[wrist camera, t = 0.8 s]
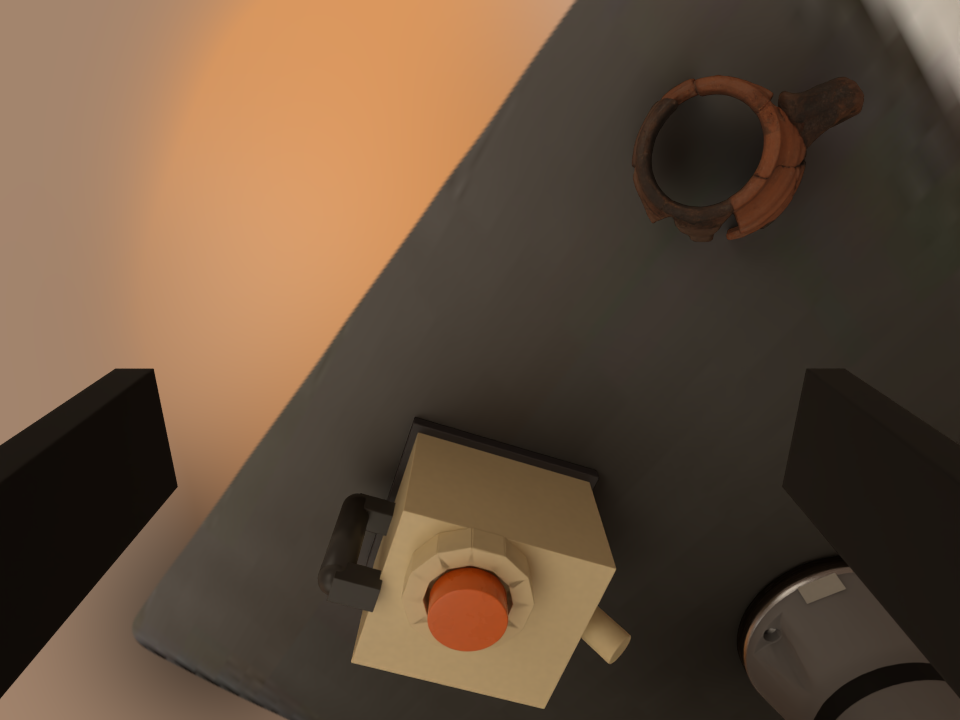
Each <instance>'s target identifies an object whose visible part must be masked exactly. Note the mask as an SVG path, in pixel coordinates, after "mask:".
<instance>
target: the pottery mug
mask: <svg viewBox="0 0 960 720" xmlns="http://www.w3.org/2000/svg"><path fill="white" fill-rule="evenodd" d="M713 94H721V95H728V96H732V97H735V98H737V99H739V100H741V101H743V102H744V103H746V104H747V105H748V106H749V107H750V108H751V109H752V110H753V111H754V112H755V113H756V114H757V116H758V118H759V120H760V123H761V126H762V130H763V135H764V145H763V152H762V156H761V160H760V163H759V165H758V167H757V169H756V171H755V173H754V175H753V176H752V177H751V178H750V180H749V181H748V182H747V183H746V184H745V186H744V187H743V188H742V189H741V190H739V191H738V192H737V193H736V194H734V195H732V196H731V197H729V198H728V199H727V200H725V201H723V202H720V203H718V204H714V205H710V206H705V207H694V206H687V205H683V204H680V203H677V202H675V201H672V200H671V199H670V198H669V197H667V196H666V195H665V194H664V193H663V191H662V190H661V189H660V188H659V186H658V184H657V182H656V180H655V177H654V174H653V171H652V151H653V146H654V142H655V139H656V137H657V134H658V132H659V130H660V129H661V127H662V126H663V124H664V123H665V121H666V120H667V119H668V117H669V116H670V115H671V114H672V113H673V112H674V111H675V110H676V108H677V107H678V105H679V104H681V103H683V102H684V101H686V100H688V99H690V98H692V97H694V96H697V95H700V96H706V95H713ZM772 97H773V93H772V92H771V91H769V90H768V89H765V88H763V87H762V86H759V85H756V84H753V83H751V82H748V81H746V80H742V79H739V78H735V77H730V76H721V75H716V76H710V77H704V78H700V79H697V80H695V79H689V80H687V81H684V82H683V83H681V84H679V85H677V86H676V87H674V88H673V89H671V90H670V91H669V92H668V93H666V94H665V95H664V96H663V97H662V99H661V100H660V101H658V102H656V103H655V104H654V105H653V107H652V108H651V110H650V111H649V113H648V115H647V117H646V118H645V120H644V122H643V124H642V126H641V128H640V131H639V133H638V136H637V138H636V142H635V145H634V151H633V157H632V166H633V167H634V168H635V171H634V175H633V180H634V184H635V187H636V190H637V192H638V194H639V197H640V198H641V200H642V203H643V205H644V208H645V210H646V212H647V215H648V217H649V219H650V220H651V222H652V223H655V222H656V221H658V220H661V219H663V218H666V217H673V218H674V221H675V225H676V227H678V229H679V230H680V231H681V232H682V233H684V234H687V235H689V237H690V238H691V240H693V241H696V242H709V241H711V240H712V239H713V235H714V233H716V232H717V231H718V230H719V229H720V227H721V226H722V224H723V223H724V222H725V221H726V220H727V219H728V218H729V217H730V216H731V215H732V214H734V216H735V218H736V221H737V223H738V226H737V227H734V228H731V229H729V230H728V231H727V234H726V237H727V239H728V240H732V239H737V238H741V237H744V236H746V235H748V234H750V233H753V232H755V231H757V230H758V229H764V228H765V227H767V226H768V225H769V224H771V223H772V222H773V221H774V220H775V219H776V218H777V217H778V216H779V215H780V214H781V213H782V212H783V211H784V210H785V208H786V207H787V206H788V204H789V203H790V202H791V200H792V198H793V195H794V194H795V192H796V190H797V188H798V186H799V184H800V182H801V179H802V176H803V173H804V170H805V165H806V162H805V157H806V149H807V148H808V147H809V146H810V145H811V144H812V143H813V142H814V141H815V140H816V139H817V138H818V137H819V136H820V135H821V134H823V133H824V132H825V131H826V130H828V129H829V128H831V127H833V126H836V125H838V124H840V123H842V122H843V121H845V120H847V119H849V118H851V117H853V116H855V115H857V114H859V113H860V112H861V110H862V106H863V102H864V94H863V92H862V91H861V89H860V87H859V86H858V85H857V83H856V82H854V81H853V80H850V79H848V78H846V77H839V78H835V79H833V80H830V81H828V82H825V83H823V84H820V85H818V86H815V87H813V88H812V89H810V90H807V91H805V92H801V93H789V92H786V91H783V92H781V94H780V95H779V100H778V107H776V106H775V105H773V104H772V102H771V99H772Z"/></svg>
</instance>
